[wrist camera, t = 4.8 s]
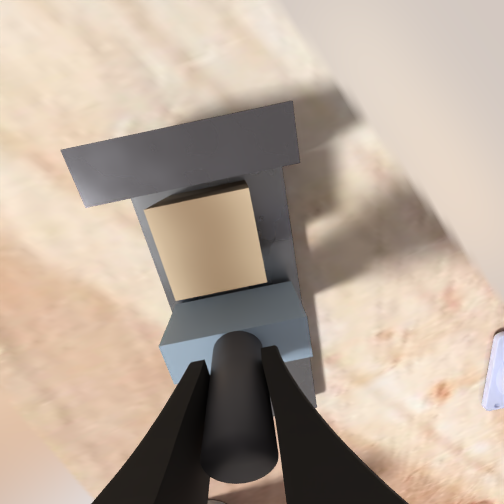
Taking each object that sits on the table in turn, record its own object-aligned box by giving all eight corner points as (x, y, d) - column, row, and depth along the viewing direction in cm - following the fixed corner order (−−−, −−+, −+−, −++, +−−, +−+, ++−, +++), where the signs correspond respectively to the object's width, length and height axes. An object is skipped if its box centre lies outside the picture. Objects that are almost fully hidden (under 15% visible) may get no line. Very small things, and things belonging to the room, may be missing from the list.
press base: (272, 121, 13) (292, 100, 8) (313, 396, 20) (336, 467, 15) (122, 153, 13) (60, 149, 8) (215, 415, 20) (209, 492, 15)
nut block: (244, 179, 13) (248, 188, 9) (259, 250, 14) (267, 282, 11) (169, 195, 13) (143, 210, 9) (191, 264, 14) (175, 301, 11)
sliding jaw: (291, 281, 15) (349, 409, 7) (296, 314, 16) (353, 461, 8) (176, 304, 15) (113, 456, 7) (187, 336, 16) (142, 503, 8)
